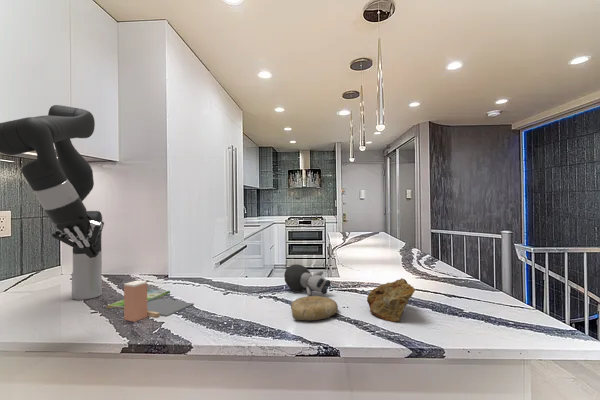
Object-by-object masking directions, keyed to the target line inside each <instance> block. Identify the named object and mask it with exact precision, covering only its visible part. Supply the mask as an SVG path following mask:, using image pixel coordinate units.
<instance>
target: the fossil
mask: <svg viewBox="0 0 600 400" xmlns="http://www.w3.org/2000/svg"><path fill="white" fill-rule="evenodd" d="M290 309H291V315H292V318H293V319H294V320H297V321H318V320H319V321H320V320H324V319H327V318H330V317H333V316H334V315H335V314H336V313H337V312H338V309H339V306H338V303H337V302H336V301H335V300H334V299H332V298H329V297H326V296H319V295H311V296H309V295H308V296H303V297H299V298H296V299H295V300H293V301H292V302H291V304H290Z"/></svg>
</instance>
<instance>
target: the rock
mask: <svg viewBox="0 0 600 400" xmlns="http://www.w3.org/2000/svg"><path fill="white" fill-rule="evenodd" d="M415 291H416V289H415V288H414V286H413V285H411V284H409V283H408V281H407V280H406V279H404V278H403V277H402V278H400V279H396V280H395V281H392V282H386V283H384V284H381V285H379V286H377V287H376V288H373V289H371V290H370V292H369V293H368V295H367V297H366V302H367V305H368V307H369V311H370V313H371V314H372V315H374V316H375V317H377V318H379V319H382V320H385V321H389V322H393V323H394V322H395V323H396V322H400V321H401V318H402V315H403V314H404V312H405V308H406V306H407V305H408V304H409V299H410V298H412V296H413V295H414V293H415Z"/></svg>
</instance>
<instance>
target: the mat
mask: <svg viewBox="0 0 600 400" xmlns="http://www.w3.org/2000/svg"><path fill="white" fill-rule="evenodd" d="M194 305H195V303H193V302H186V301H179V300H173V299H166V298H157V299H155V300H152V301H150V302H148V303H147V311H152V312H158V313H160V317H165V318H166V317H169V316H171V315H174V314H175V313H177V312H180V311H182V310H185V309H187V308H190V307H192V306H194Z"/></svg>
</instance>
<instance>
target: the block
mask: <svg viewBox="0 0 600 400" xmlns="http://www.w3.org/2000/svg"><path fill="white" fill-rule="evenodd" d="M147 290H148V281H144V280H134V281H130V282H126V283H124V284H123V299H124V309H123V312H124V313H123V314H124V315H123V317H124V321H130V322H138V321H139V320H142V319H145V318H148V316H147Z"/></svg>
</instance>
